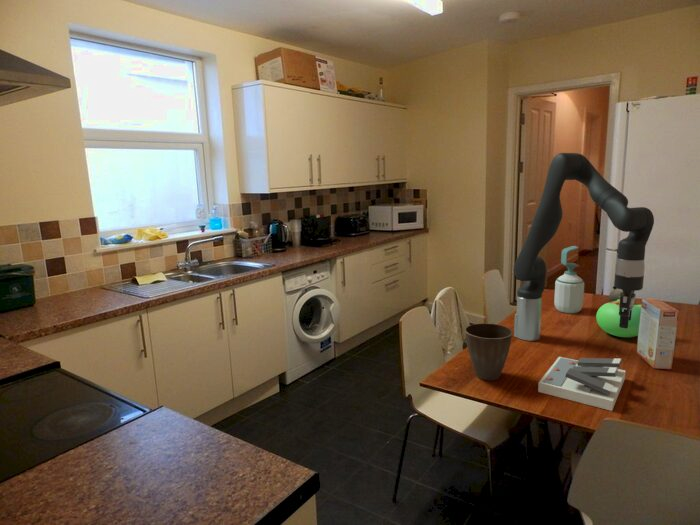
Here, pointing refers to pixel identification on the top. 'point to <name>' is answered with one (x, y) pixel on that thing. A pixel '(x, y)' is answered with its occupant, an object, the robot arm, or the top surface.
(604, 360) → the block
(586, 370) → the rocker
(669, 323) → the cracker box
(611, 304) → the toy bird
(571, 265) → the soap bottle
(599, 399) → the switch unit
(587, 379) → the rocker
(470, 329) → the plant pot
